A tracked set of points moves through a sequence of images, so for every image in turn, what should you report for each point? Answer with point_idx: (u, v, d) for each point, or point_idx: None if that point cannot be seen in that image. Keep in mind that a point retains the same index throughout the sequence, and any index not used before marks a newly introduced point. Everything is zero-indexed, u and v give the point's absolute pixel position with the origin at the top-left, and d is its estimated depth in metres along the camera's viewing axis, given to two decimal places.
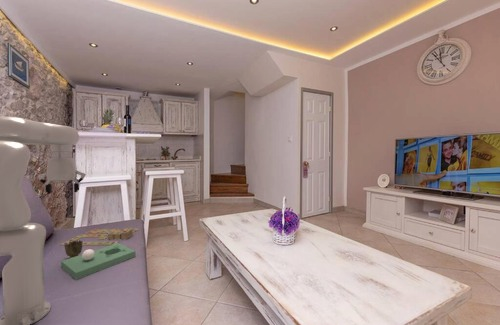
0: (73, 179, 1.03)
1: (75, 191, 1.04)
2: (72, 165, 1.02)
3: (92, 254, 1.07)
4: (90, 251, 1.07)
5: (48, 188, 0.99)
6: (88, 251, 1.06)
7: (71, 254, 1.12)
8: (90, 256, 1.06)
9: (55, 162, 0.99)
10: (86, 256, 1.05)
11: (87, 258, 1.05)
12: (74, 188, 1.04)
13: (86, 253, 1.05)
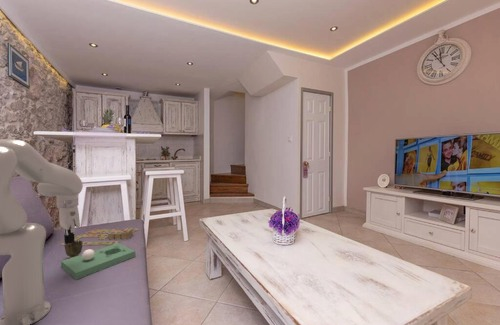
0: None
1: None
2: None
3: (92, 254, 1.07)
4: (90, 251, 1.07)
5: None
6: (88, 251, 1.06)
7: (71, 254, 1.12)
8: (90, 256, 1.06)
9: None
10: (86, 256, 1.05)
11: (87, 258, 1.05)
12: None
13: (86, 253, 1.05)
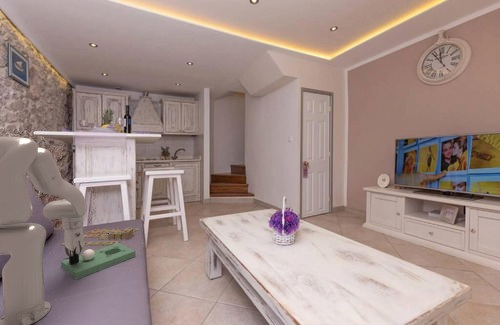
0: None
1: None
2: None
3: (92, 254, 1.07)
4: (90, 251, 1.07)
5: None
6: (88, 251, 1.06)
7: None
8: (90, 256, 1.06)
9: None
10: (86, 256, 1.05)
11: (87, 258, 1.05)
12: None
13: (86, 253, 1.05)
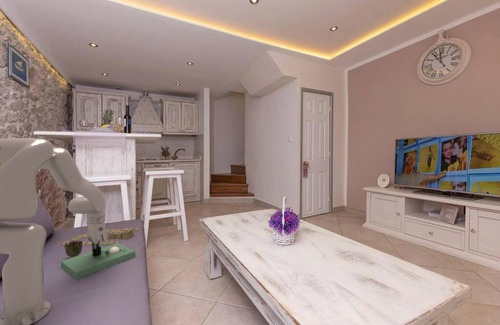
0: None
1: None
2: None
3: (116, 251, 1.16)
4: (112, 251, 1.15)
5: None
6: (111, 252, 1.15)
7: (71, 254, 1.12)
8: None
9: None
10: None
11: None
12: None
13: (111, 254, 1.15)
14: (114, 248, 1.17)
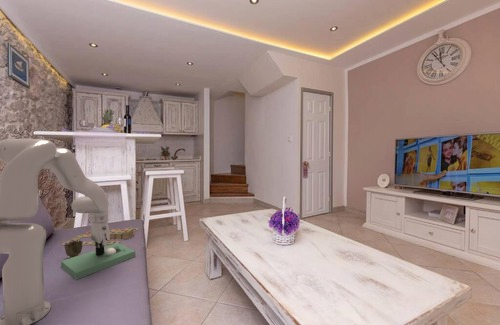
0: None
1: None
2: None
3: (111, 253, 1.14)
4: None
5: None
6: None
7: (71, 254, 1.12)
8: None
9: None
10: None
11: None
12: None
13: None
14: (107, 252, 1.14)
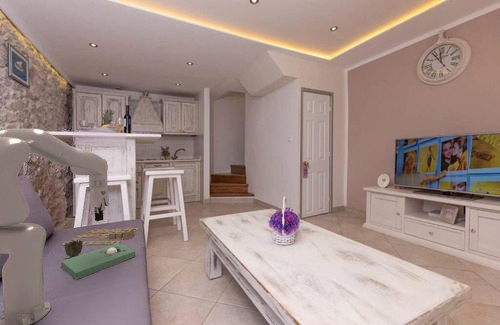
0: None
1: None
2: None
3: (113, 252, 1.15)
4: (109, 254, 1.14)
5: None
6: None
7: (71, 254, 1.12)
8: (114, 253, 1.15)
9: None
10: None
11: None
12: None
13: None
14: (109, 250, 1.15)
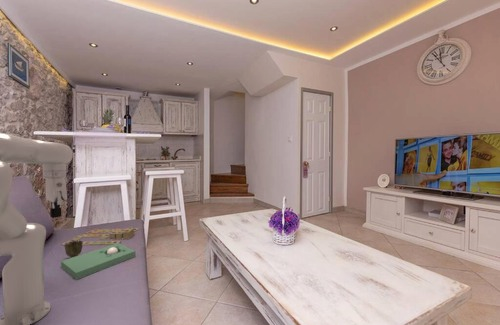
0: None
1: None
2: None
3: (113, 252, 1.15)
4: (110, 253, 1.14)
5: None
6: (109, 254, 1.14)
7: (71, 254, 1.12)
8: None
9: None
10: None
11: None
12: None
13: None
14: (110, 250, 1.15)
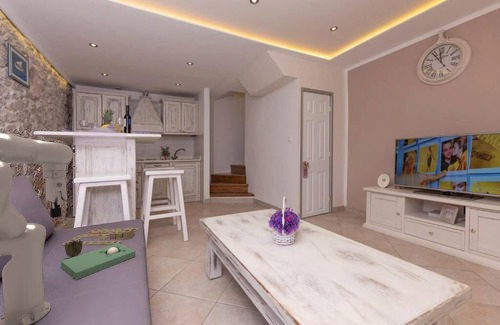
0: None
1: None
2: None
3: (114, 251, 1.15)
4: (110, 253, 1.15)
5: None
6: (109, 254, 1.14)
7: (71, 254, 1.12)
8: None
9: None
10: None
11: None
12: None
13: None
14: (111, 249, 1.15)
